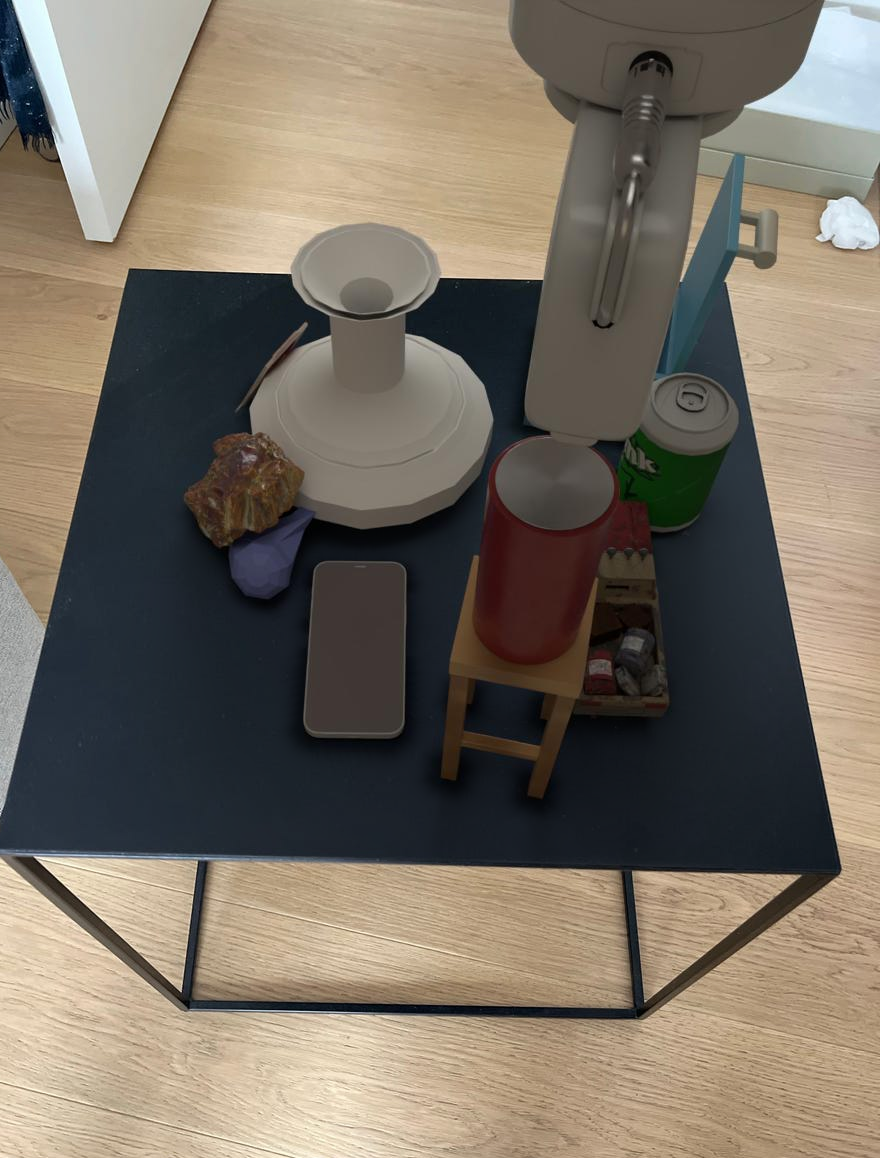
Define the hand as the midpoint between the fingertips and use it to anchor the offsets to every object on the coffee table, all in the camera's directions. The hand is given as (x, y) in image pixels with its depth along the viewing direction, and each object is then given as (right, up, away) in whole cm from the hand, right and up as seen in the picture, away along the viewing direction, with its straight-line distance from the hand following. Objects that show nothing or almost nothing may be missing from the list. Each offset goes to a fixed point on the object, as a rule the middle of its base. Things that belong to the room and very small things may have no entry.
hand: (589, 345), depth 40 cm
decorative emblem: (-16, +15, +45) cm, 50 cm away
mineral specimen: (-21, +3, +35) cm, 41 cm away
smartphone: (-11, -13, +36) cm, 39 cm away
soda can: (+14, -1, +43) cm, 45 cm away
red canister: (0, -11, +17) cm, 20 cm away
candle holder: (-10, +4, +45) cm, 47 cm away
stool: (0, -19, +32) cm, 37 cm away
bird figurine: (-18, -6, +34) cm, 39 cm away
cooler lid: (+16, +17, +37) cm, 43 cm away
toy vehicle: (+8, -11, +37) cm, 39 cm away
